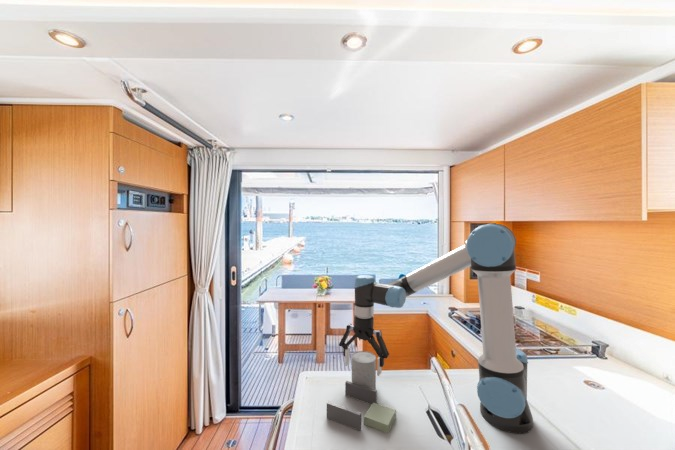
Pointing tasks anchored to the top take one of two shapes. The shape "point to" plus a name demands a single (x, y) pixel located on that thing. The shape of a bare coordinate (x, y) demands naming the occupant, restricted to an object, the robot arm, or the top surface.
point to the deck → (380, 417)
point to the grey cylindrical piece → (364, 369)
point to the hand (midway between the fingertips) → (362, 369)
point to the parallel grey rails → (349, 415)
